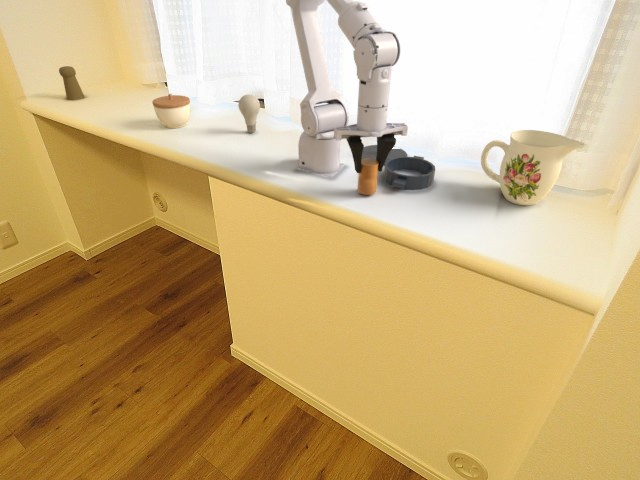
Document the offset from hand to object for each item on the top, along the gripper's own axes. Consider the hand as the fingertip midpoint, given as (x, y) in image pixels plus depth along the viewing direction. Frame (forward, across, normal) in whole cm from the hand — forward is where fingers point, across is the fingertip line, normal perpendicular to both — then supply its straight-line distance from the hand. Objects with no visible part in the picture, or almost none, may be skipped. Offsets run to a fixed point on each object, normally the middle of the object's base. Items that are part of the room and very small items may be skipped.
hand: (368, 170), depth 84 cm
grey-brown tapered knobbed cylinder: (+6, -84, +96) cm, 128 cm away
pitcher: (+6, +32, -7) cm, 33 cm away
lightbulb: (+6, -22, +45) cm, 50 cm away
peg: (+5, 0, 0) cm, 5 cm away
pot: (+6, +12, +5) cm, 14 cm away
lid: (+5, +10, +19) cm, 22 cm away
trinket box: (+6, -45, +56) cm, 72 cm away
